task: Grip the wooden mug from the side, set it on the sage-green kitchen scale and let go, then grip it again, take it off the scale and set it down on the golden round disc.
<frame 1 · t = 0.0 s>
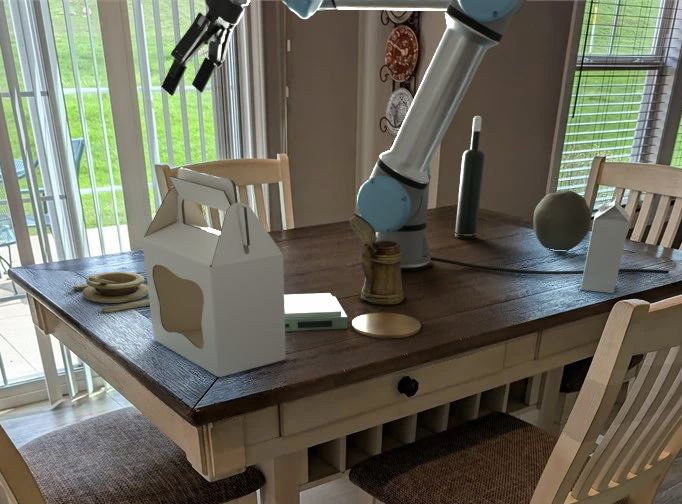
hand: (182, 89, 159), 36 cm above the table, tool tilted 35°, fingers open, 13 cm apart
kitchen scale: (305, 318, 140), on the table
golden round disc: (386, 326, 138), on the table
milk carton: (597, 288, 163), on the table
tableware set: (154, 291, 155), on the table
wine bottle: (465, 237, 203), on the table
wooden mug: (374, 302, 151), on the table
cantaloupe: (555, 253, 190), on the table
gable box: (218, 351, 125), on the table
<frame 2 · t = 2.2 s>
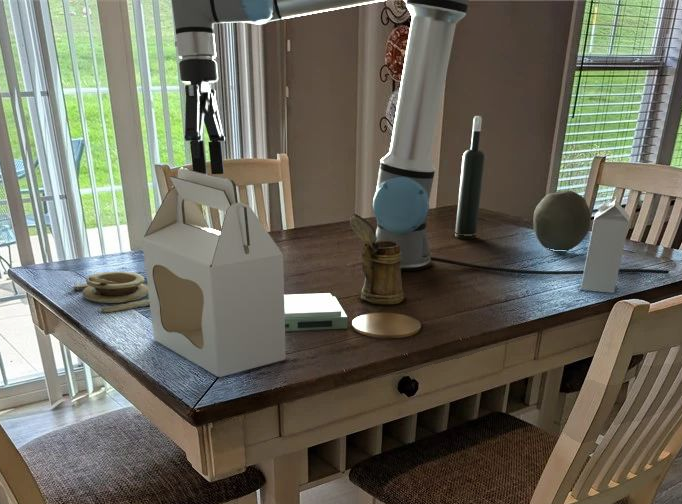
hand: (209, 175, 155), 21 cm above the table, tool pointing down, fingers open, 13 cm apart
nothing on the table moved.
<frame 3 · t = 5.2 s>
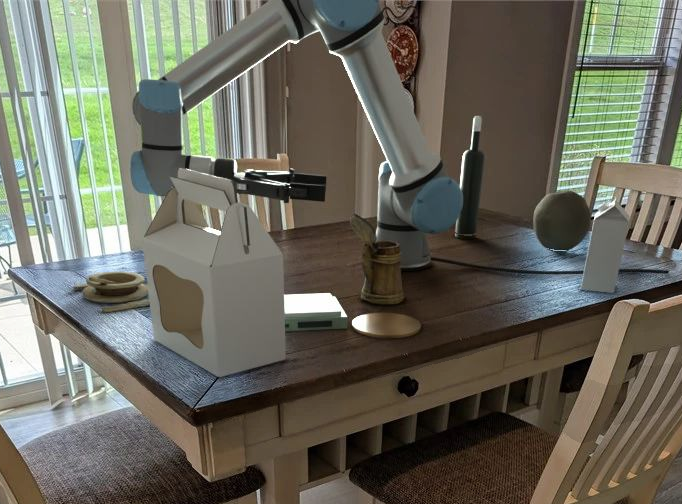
hand: (326, 188, 140), 22 cm above the table, tool horizontal, fingers open, 13 cm apart
nothing on the table moved.
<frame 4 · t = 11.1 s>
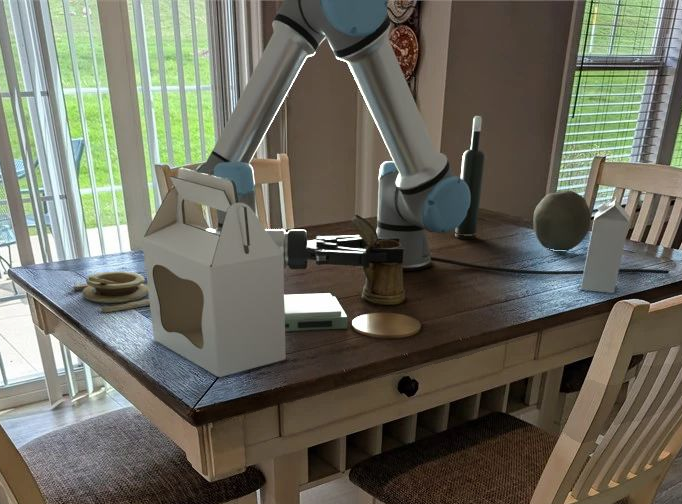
hand: (400, 250, 146), 10 cm above the table, tool horizontal, fingers closed on wooden mug, 8 cm apart
wooden mug: (375, 301, 151), on the table, touching gripper
everything else where it was.
when the fingers open (13 cm above the table, at t = 18.9 s): wooden mug stays where it is, resting on kitchen scale.
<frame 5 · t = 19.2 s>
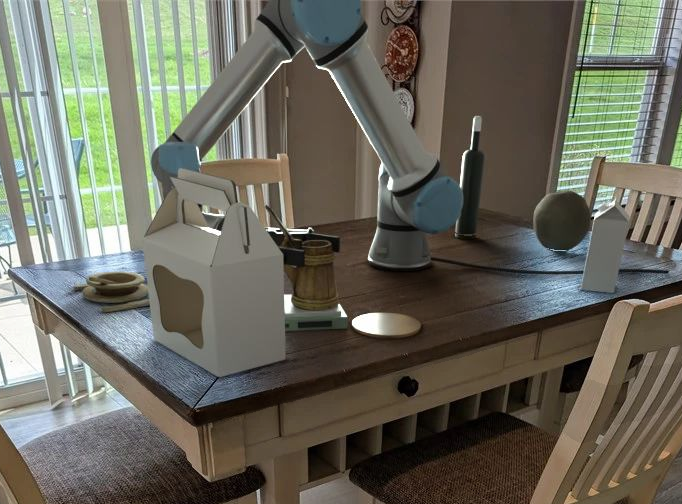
hand: (322, 251, 132), 13 cm above the table, tool horizontal, fingers open, 12 cm apart
wooden mug: (303, 305, 139), point 3 cm above the table, touching kitchen scale
everything else where it was.
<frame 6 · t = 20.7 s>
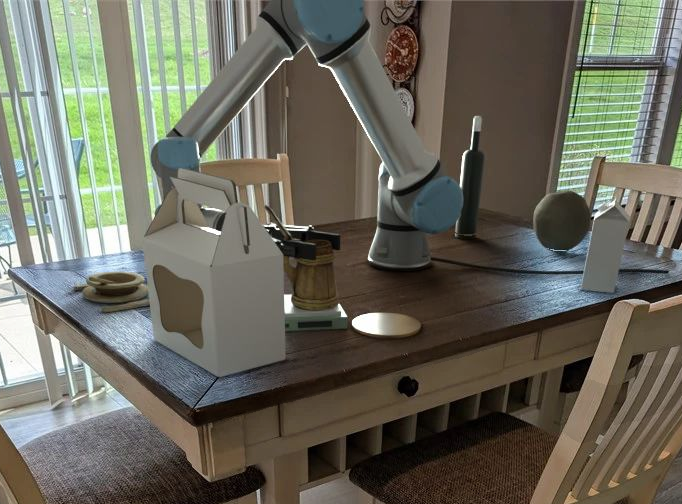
hand: (327, 247, 131), 14 cm above the table, tool horizontal, fingers closed on wooden mug, 8 cm apart
wooden mug: (303, 304, 139), point 3 cm above the table, touching gripper, kitchen scale
everything else where it was.
when the fingers open (12 cm above the table, at t = 28.3 s): wooden mug stays where it is, resting on golden round disc.
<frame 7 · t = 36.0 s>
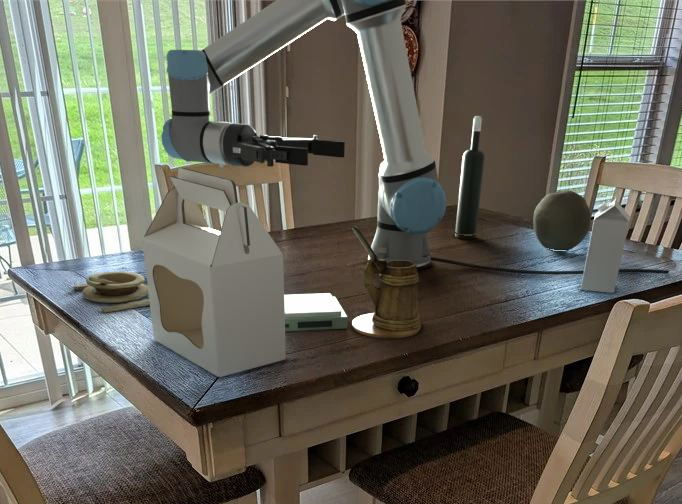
hand: (326, 153, 134), 28 cm above the table, tool horizontal, fingers open, 13 cm apart
wooden mug: (384, 325, 137), resting on golden round disc
everything else where it was.
at the end: wooden mug inside the target area on the golden round disc (0.6 cm from its centre), point 0.4 cm above the golden round disc's base; wooden mug tilted 0°; wooden mug touching golden round disc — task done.
